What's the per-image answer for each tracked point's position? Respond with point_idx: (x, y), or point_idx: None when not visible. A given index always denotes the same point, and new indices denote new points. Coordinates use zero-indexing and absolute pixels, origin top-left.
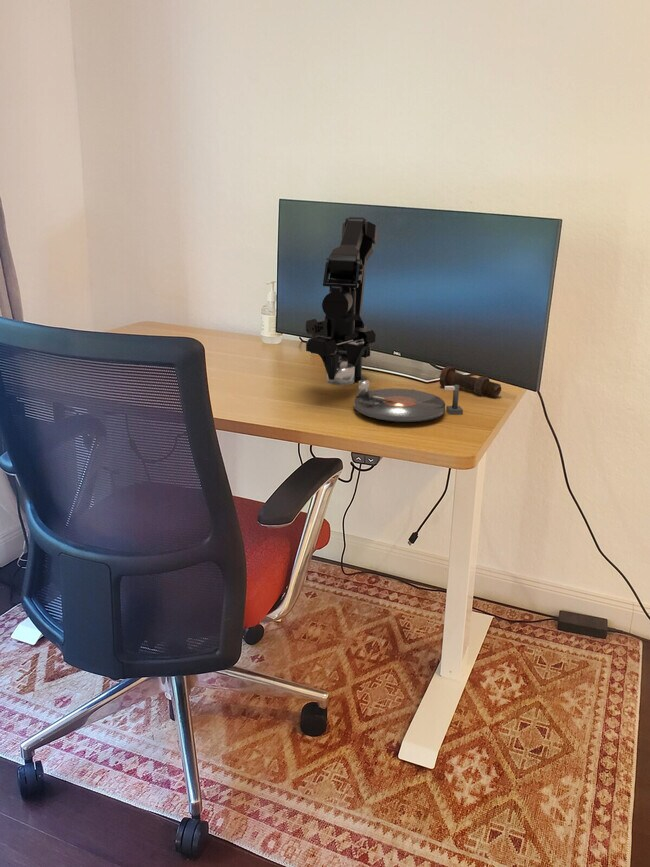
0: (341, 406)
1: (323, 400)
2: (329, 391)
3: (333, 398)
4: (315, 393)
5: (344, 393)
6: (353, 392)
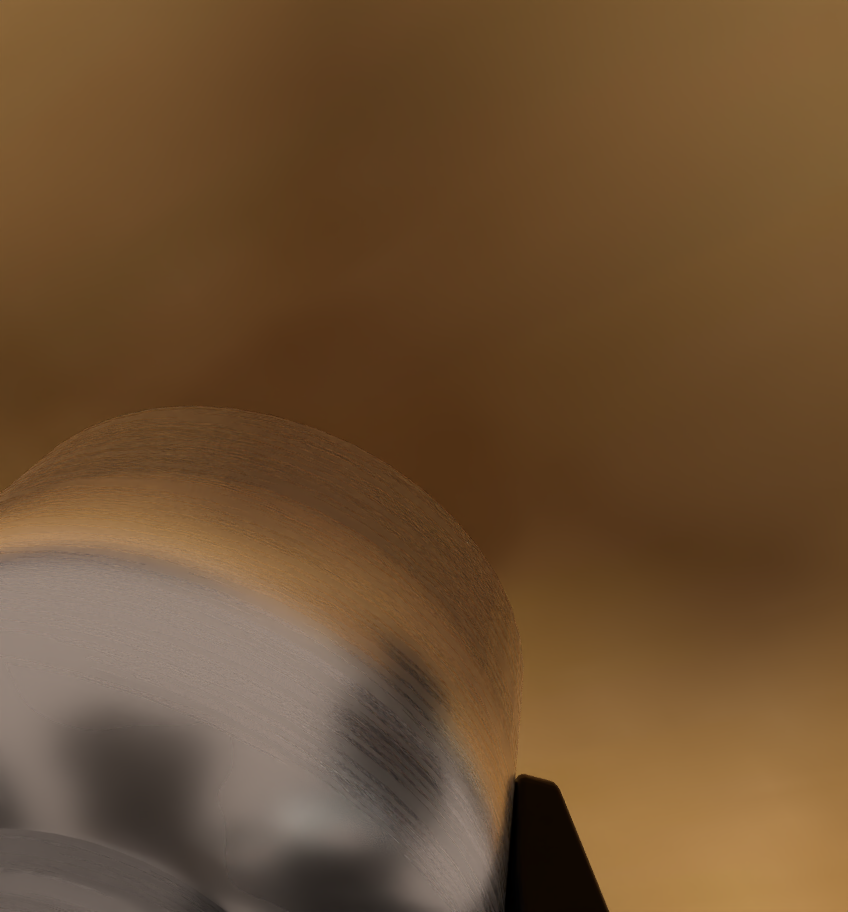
0: None
1: (34, 369)
2: (478, 230)
3: None
4: (219, 62)
5: (511, 484)
6: (630, 570)
